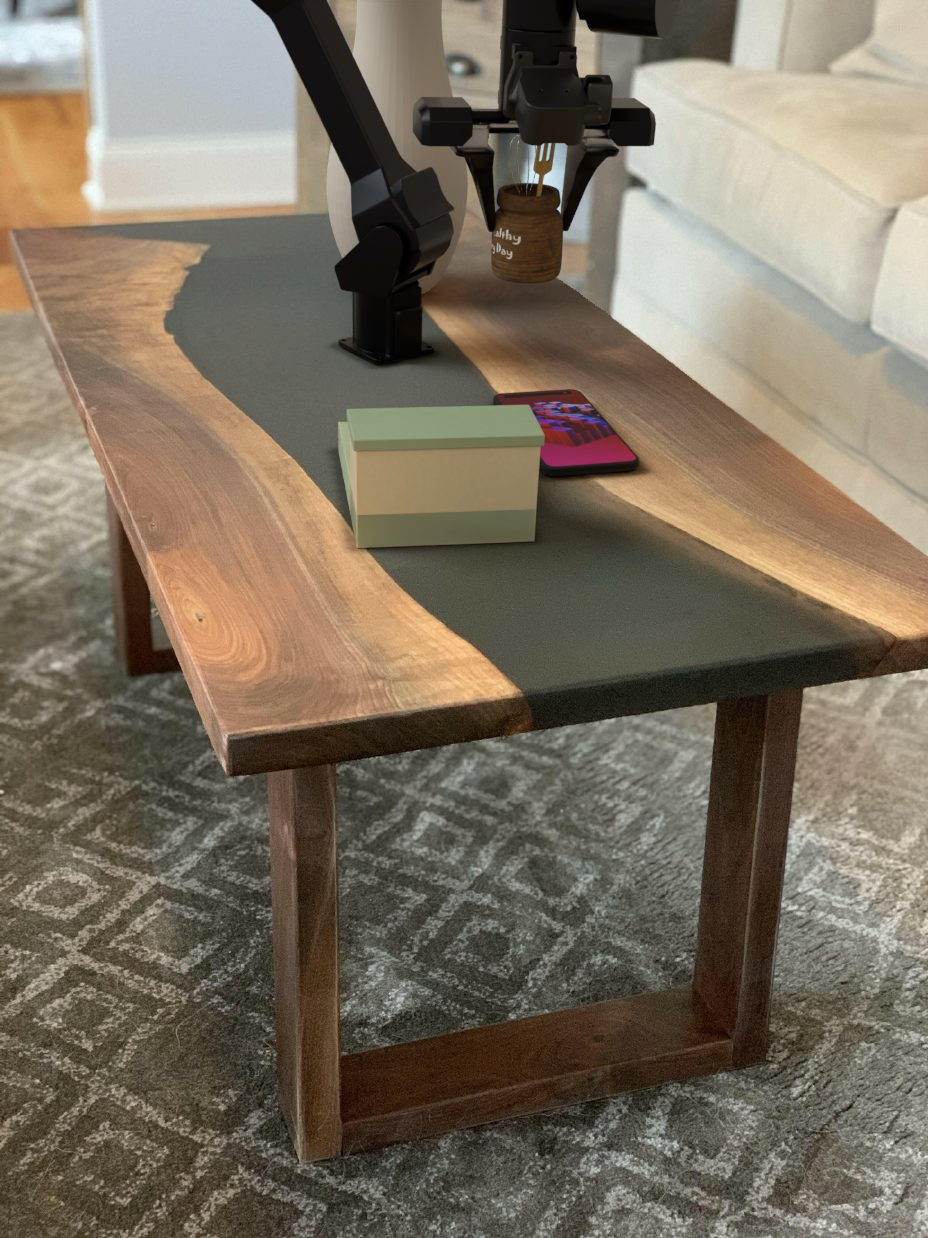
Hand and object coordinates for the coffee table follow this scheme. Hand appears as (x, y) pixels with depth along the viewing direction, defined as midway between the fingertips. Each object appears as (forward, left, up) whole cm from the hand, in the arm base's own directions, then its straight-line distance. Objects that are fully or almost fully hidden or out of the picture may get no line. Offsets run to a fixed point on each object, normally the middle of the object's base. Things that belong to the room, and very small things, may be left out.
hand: (527, 230), depth 116 cm
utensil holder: (0, 0, -4) cm, 4 cm away
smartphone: (+12, -6, -13) cm, 19 cm away
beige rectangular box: (+15, -21, -13) cm, 29 cm away
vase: (-26, +5, -13) cm, 29 cm away
